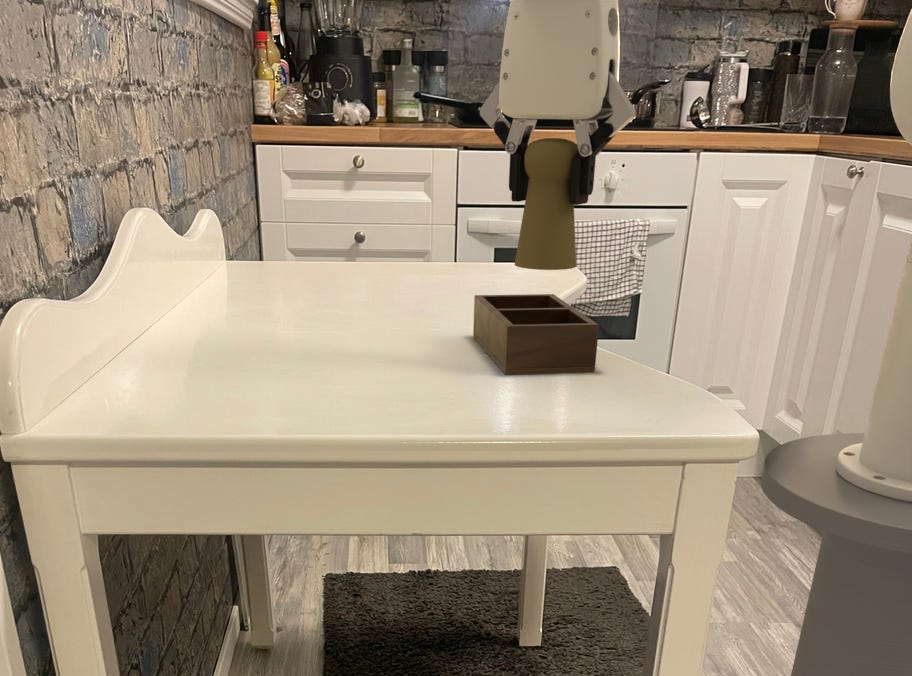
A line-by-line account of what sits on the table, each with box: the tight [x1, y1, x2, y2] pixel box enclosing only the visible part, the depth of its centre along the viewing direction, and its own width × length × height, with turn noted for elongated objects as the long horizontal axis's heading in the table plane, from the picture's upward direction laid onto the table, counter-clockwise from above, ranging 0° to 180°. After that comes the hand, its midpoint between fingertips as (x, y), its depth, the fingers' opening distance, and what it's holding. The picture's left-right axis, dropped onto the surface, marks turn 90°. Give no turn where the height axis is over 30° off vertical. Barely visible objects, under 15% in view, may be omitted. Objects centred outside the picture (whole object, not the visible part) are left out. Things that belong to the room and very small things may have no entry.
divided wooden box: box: [472, 293, 600, 376], centre depth 100 cm, size 17×9×5 cm, turn 8°
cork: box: [514, 137, 578, 271], centre depth 90 cm, size 6×6×11 cm
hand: (549, 199), depth 90 cm, fingers closed on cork, 5 cm apart
